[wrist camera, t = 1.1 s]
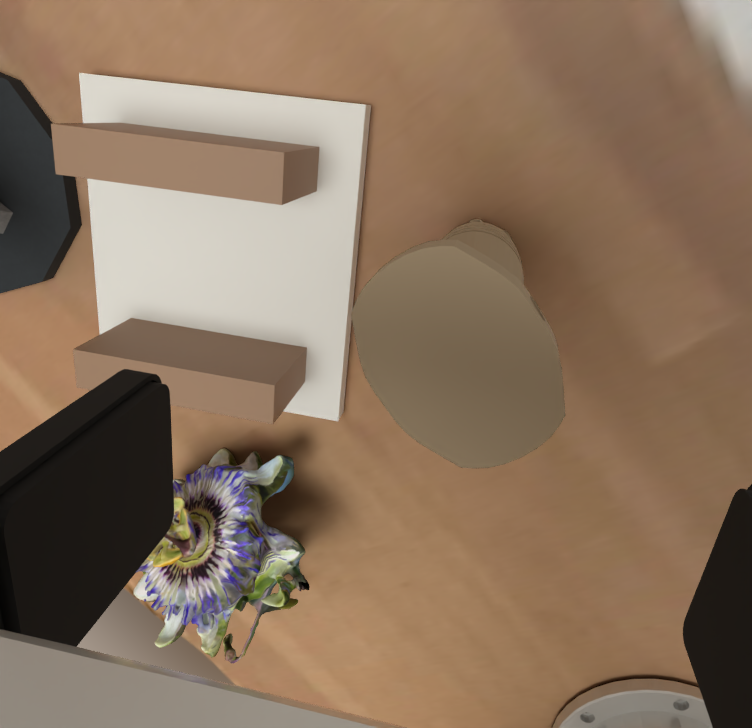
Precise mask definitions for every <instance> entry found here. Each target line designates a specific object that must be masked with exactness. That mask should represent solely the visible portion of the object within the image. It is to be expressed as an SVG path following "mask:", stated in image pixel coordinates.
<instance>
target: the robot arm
mask: <svg viewBox="0 0 752 728" xmlns="http://www.w3.org/2000/svg"><path fill="white" fill-rule="evenodd" d="M173 517H174V490H173V463H172V436H171V409H170V391H169V388H168V386H167V385H166V384H162V382H161V379H160V377H159V376H158V375H157V374H151V373H146V372H140V371H135V370H129V369H123V370H121V371H119V372H118V373H116V374H115V375H113V376H112V377H110V378H109V379H107V380H106V381H104V382H103V383H101V384H100V385H98V386H97V387H95V388H94V389H92V390H91V391H89V392H88V393H86V394H85V395H84V396H82V397H81V398H79V399H78V400H76V401H75V402H73V403H72V404H70V405H69V406H67V407H66V408H64V409H63V410H61V411H60V412H58V413H57V414H55V415H54V416H52V417H51V418H49V419H48V420H47V421H45V422H44V423H42V424H41V425H39V426H38V427H36V428H35V429H33V430H32V431H30V432H29V433H27V434H26V435H24V436H23V437H21V438H20V439H18V440H17V441H15V442H14V443H12V444H11V445H10V446H8V447H7V448H5V449H4V450H2V451H1V452H0V728H406V727H402V726H398V725H394V724H390V723H386V722H382V721H378V720H374V719H370V718H366V717H362V716H358V715H354V714H350V713H346V712H342V711H338V710H334V709H330V708H326V707H321V706H317V705H313V704H309V703H305V702H301V701H297V700H293V699H289V698H285V697H281V696H277V695H273V694H269V693H265V692H261V691H257V690H253V689H249V688H244V687H240V686H236V685H232V684H228V683H224V682H219V681H215V680H211V679H207V678H203V677H199V676H195V675H190V674H186V673H182V672H178V671H174V670H170V669H166V668H162V667H157V666H153V665H149V664H145V663H141V662H137V661H133V660H129V659H124V658H120V657H116V656H112V655H108V654H104V653H100V652H95V651H91V650H87V649H83V648H79V647H77V645H78V644H79V643H80V641H81V640H82V639H83V638H84V636H85V635H86V634H87V633H88V631H89V630H90V629H91V628H92V626H93V625H94V624H95V623H96V621H97V620H98V619H99V618H100V616H101V615H102V614H103V613H104V611H105V610H106V609H107V608H108V606H109V605H110V604H111V603H112V601H113V600H114V599H115V598H116V596H117V595H118V594H119V592H120V591H121V590H122V589H123V588H124V586H125V585H126V584H127V583H128V581H129V580H130V579H131V578H132V576H133V575H134V574H135V573H136V571H137V570H138V569H139V568H140V566H141V565H142V564H143V563H144V561H145V560H146V559H147V558H148V556H149V555H150V554H151V553H152V551H153V550H154V549H155V548H156V546H157V545H158V544H159V543H160V541H161V540H162V539H163V538H164V536H165V535H166V534H167V532H168V531H169V529H170V527H171V525H172V521H173ZM683 639H684V644H685V647H686V650H687V653H688V656H689V659H690V662H691V665H692V668H693V671H694V674H695V677H696V680H697V683H698V686H699V688H698V687H695V686H691V685H687V684H684V683H680V682H676V681H669V680H661V679H629V680H623V681H616V682H612V683H608V684H605V685H602V686H598V687H595V688H593V689H591V690H589V691H587V692H585V693H583V694H581V695H579V696H578V697H577V698H575V699H574V700H573V701H572V702H570V703H569V704H568V705H566V707H565V708H564V709H563V710H562V711H561V713H560V714H559V715H558V716H557V718H556V720H555V723H554V725H553V727H552V728H752V484H751V486H750V487H749V488H748V489H747V490H746V489H739V490H738V491H737V492H736V493H735V495H734V497H733V499H732V501H731V504H730V507H729V509H728V512H727V514H726V517H725V519H724V522H723V524H722V527H721V529H720V532H719V534H718V537H717V539H716V542H715V544H714V547H713V549H712V552H711V554H710V557H709V560H708V562H707V565H706V567H705V570H704V572H703V575H702V577H701V580H700V582H699V585H698V587H697V590H696V592H695V595H694V597H693V600H692V602H691V605H690V607H689V610H688V612H687V615H686V618H685V621H684V626H683Z"/></svg>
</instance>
